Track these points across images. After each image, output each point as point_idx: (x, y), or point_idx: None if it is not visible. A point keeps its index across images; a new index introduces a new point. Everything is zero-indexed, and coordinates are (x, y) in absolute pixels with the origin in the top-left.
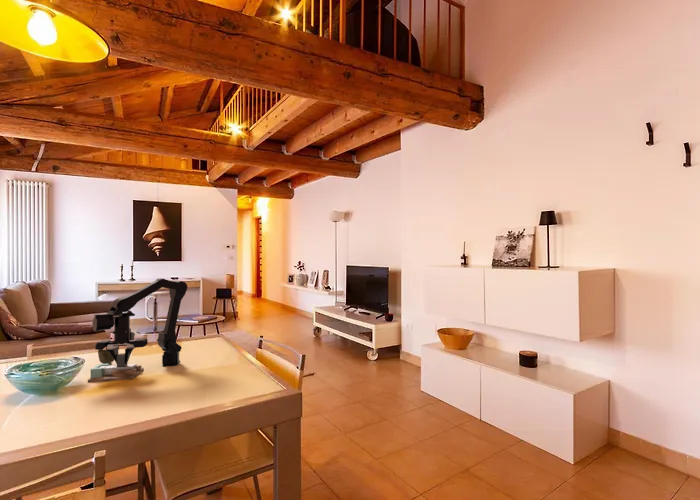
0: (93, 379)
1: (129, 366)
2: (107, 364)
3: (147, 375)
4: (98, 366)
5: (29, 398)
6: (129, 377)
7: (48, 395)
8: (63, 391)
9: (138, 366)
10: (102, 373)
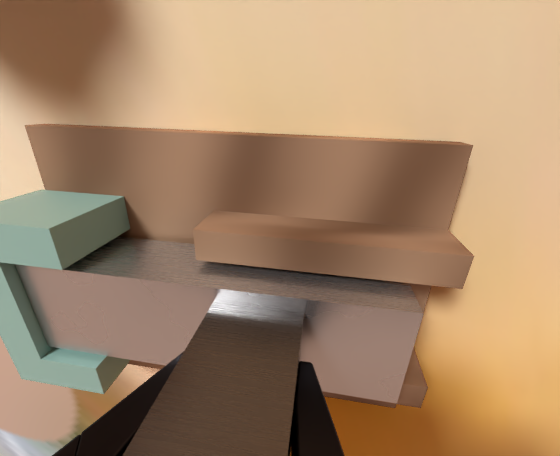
0: (130, 363)
1: (352, 387)
2: (59, 267)
3: (503, 343)
4: (18, 313)
5: (19, 445)
6: (368, 400)
7: (64, 444)
8: (88, 426)
9: (435, 283)
10: None
